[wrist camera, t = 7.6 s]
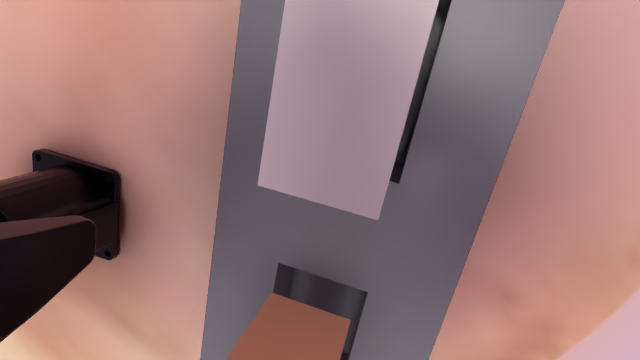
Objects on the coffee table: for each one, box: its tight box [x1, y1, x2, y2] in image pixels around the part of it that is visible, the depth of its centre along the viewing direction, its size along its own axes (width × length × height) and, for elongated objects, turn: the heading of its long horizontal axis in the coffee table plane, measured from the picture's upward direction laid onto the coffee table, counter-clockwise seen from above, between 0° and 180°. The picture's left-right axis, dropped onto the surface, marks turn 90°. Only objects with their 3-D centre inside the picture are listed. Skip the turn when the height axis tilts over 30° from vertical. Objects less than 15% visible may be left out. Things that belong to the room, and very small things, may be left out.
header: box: [200, 0, 565, 360], centre depth 18 cm, size 11×24×4 cm, turn 168°
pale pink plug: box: [258, 0, 439, 220], centre depth 13 cm, size 4×6×8 cm, turn 168°
